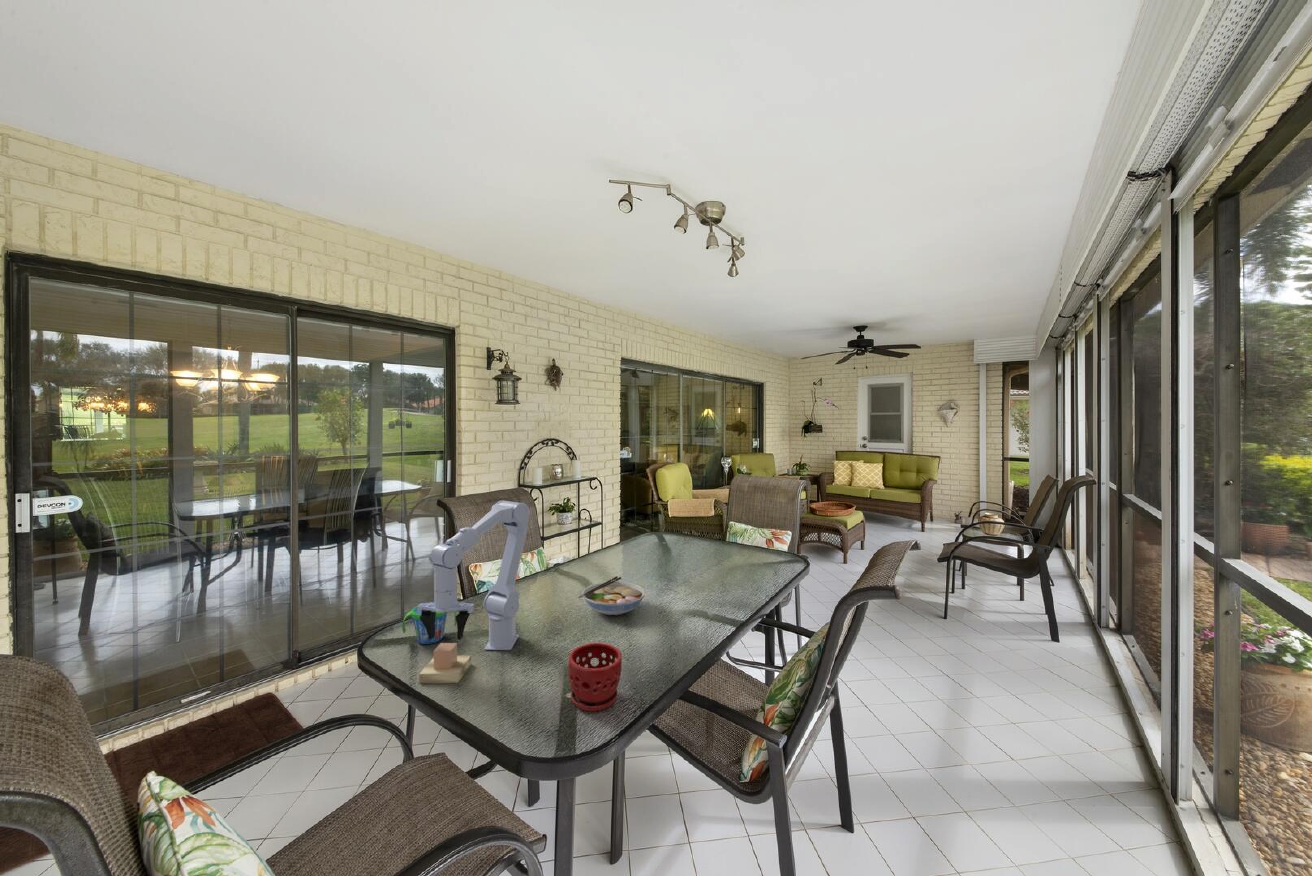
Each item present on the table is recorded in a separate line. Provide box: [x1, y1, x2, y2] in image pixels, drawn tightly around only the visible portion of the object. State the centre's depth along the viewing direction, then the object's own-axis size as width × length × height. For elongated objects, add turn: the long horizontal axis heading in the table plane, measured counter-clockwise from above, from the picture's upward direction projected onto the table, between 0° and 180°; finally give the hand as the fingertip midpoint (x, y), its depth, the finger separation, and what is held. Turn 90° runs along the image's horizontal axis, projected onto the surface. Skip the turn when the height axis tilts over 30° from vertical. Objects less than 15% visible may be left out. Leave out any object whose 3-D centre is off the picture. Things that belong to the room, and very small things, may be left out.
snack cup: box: [401, 601, 458, 645], centre depth 154 cm, size 16×10×10 cm
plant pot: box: [568, 642, 623, 712], centre depth 122 cm, size 13×13×12 cm
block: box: [433, 642, 458, 669], centre depth 134 cm, size 4×4×5 cm
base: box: [418, 654, 472, 684], centre depth 134 cm, size 10×10×2 cm
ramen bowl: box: [577, 575, 646, 616], centre depth 178 cm, size 25×23×8 cm
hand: (446, 637), depth 134 cm, fingers open, 7 cm apart
